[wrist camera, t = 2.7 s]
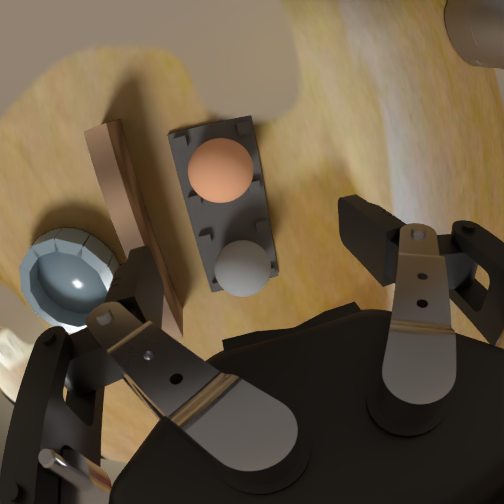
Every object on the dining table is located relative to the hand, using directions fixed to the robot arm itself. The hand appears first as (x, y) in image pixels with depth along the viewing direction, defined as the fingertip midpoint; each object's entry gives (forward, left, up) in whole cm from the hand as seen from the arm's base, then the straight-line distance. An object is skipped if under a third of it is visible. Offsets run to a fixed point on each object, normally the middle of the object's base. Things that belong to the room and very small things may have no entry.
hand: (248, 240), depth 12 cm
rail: (+4, -8, -15) cm, 17 cm away
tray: (+4, 0, -15) cm, 15 cm away
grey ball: (+9, 0, -12) cm, 15 cm away
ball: (0, 0, -12) cm, 12 cm away
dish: (+7, -17, -15) cm, 24 cm away
